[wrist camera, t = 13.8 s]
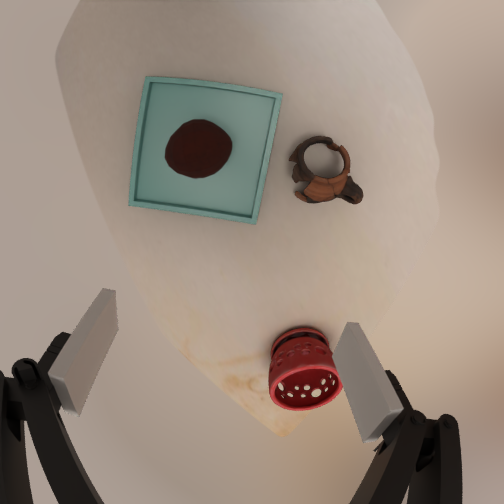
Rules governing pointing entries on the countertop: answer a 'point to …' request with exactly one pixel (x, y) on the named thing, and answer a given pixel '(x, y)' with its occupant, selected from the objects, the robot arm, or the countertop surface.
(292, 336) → the plant pot
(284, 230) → the countertop surface
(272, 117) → the teal tray
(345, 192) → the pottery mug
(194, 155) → the dark brown oval
